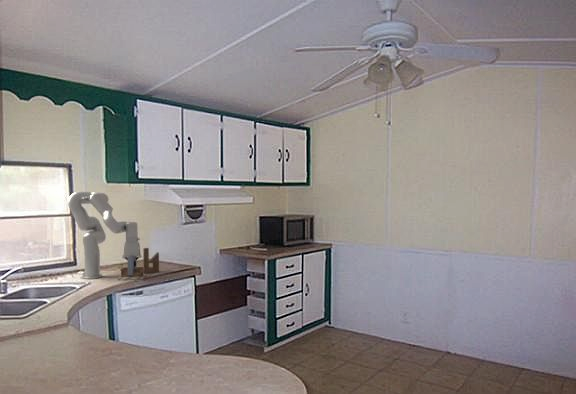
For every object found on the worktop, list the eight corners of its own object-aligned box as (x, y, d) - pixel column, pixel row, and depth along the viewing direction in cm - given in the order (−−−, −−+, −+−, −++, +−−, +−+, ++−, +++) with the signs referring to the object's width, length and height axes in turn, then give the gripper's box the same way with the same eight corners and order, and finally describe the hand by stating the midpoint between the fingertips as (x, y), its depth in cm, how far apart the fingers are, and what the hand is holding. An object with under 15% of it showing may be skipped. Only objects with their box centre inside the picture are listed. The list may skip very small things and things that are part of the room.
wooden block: (159, 271, 303) (158, 247, 303) (144, 273, 297) (144, 248, 296) (157, 271, 306) (157, 246, 306) (142, 272, 300) (142, 248, 299)
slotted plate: (127, 275, 278) (127, 257, 278) (132, 271, 289) (131, 254, 289) (132, 275, 278) (132, 257, 278) (136, 271, 289) (136, 254, 289)
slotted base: (117, 280, 277) (117, 269, 277) (122, 276, 288) (122, 266, 288) (142, 279, 279) (142, 268, 279) (146, 275, 290) (146, 265, 290)
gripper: (145, 239, 288) (145, 265, 288) (121, 239, 286) (121, 266, 286) (142, 240, 280) (143, 267, 281) (118, 241, 278) (118, 268, 279)
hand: (132, 266), depth 283 cm, fingers closed on slotted plate, 2 cm apart
